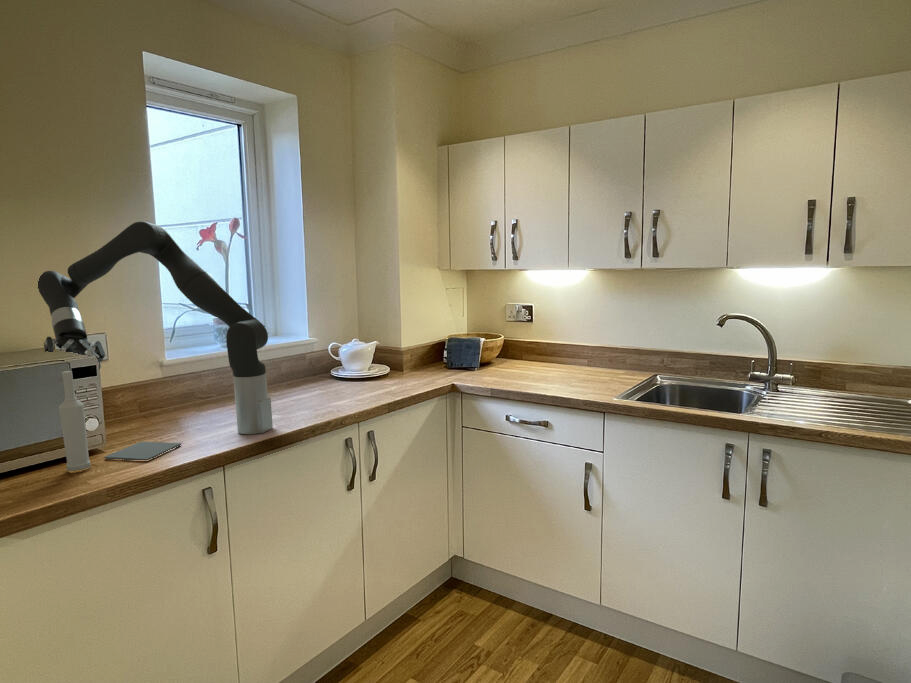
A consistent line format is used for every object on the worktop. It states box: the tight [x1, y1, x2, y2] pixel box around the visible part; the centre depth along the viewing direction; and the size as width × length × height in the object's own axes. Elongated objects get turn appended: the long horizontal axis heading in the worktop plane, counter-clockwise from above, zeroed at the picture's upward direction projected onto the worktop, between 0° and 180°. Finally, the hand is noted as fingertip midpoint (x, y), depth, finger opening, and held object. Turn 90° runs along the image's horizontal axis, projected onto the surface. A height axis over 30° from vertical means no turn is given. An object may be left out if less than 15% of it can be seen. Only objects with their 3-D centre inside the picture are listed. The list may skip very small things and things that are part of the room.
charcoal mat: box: [104, 441, 182, 460], centre depth 156 cm, size 13×13×1 cm
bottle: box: [58, 370, 92, 472], centre depth 142 cm, size 5×5×25 cm
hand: (80, 369), depth 159 cm, fingers open, 8 cm apart
